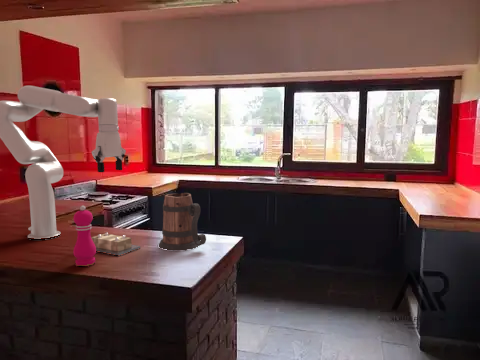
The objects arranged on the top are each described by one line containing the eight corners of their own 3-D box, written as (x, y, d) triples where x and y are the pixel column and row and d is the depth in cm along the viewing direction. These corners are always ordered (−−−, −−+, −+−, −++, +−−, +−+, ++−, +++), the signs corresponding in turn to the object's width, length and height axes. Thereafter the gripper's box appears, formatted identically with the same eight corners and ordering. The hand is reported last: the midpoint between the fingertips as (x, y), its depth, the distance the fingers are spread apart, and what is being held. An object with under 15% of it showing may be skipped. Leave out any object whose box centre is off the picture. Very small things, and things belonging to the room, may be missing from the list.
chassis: (83, 249, 151) (83, 235, 151) (106, 242, 161) (105, 229, 160) (118, 256, 143) (118, 241, 142) (140, 248, 152) (139, 234, 151)
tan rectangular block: (91, 246, 152) (91, 237, 152) (105, 242, 158) (105, 233, 157) (118, 251, 145) (118, 242, 145) (131, 246, 151) (131, 237, 150)
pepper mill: (99, 260, 138) (97, 203, 136) (92, 267, 131) (89, 207, 129) (78, 260, 138) (75, 203, 136) (70, 267, 131) (67, 207, 128)
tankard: (148, 245, 157) (147, 194, 155) (183, 236, 169) (181, 190, 167) (186, 257, 141) (184, 201, 139) (220, 247, 153) (220, 196, 151)
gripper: (117, 129, 172) (119, 169, 174) (84, 129, 157) (86, 172, 159) (130, 129, 168) (132, 169, 170) (98, 129, 153) (100, 173, 155)
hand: (110, 171), depth 165 cm, fingers open, 9 cm apart
